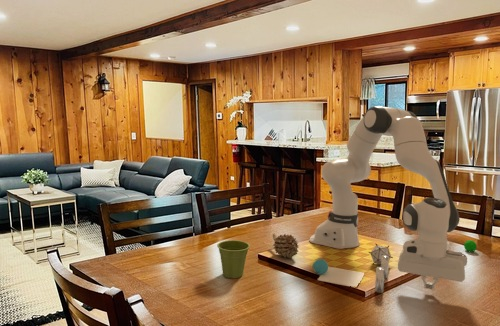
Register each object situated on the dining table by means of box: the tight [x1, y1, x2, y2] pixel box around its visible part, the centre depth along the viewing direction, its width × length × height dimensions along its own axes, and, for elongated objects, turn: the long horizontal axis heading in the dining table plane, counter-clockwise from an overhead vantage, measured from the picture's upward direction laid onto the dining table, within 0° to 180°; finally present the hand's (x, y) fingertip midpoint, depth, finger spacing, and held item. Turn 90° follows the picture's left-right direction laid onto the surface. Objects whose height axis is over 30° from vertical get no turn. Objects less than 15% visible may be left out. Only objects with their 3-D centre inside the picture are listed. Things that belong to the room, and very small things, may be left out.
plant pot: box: [216, 239, 251, 279], centre depth 145 cm, size 12×12×11 cm
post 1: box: [374, 266, 385, 294], centre depth 133 cm, size 3×3×8 cm
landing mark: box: [317, 266, 365, 288], centre depth 145 cm, size 14×14×1 cm
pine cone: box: [272, 233, 300, 259], centre depth 167 cm, size 22×10×10 cm, turn 22°
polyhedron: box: [463, 239, 478, 253], centre depth 174 cm, size 5×5×5 cm
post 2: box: [380, 255, 390, 280], centre depth 144 cm, size 3×3×8 cm
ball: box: [312, 258, 329, 275], centre depth 147 cm, size 6×6×6 cm
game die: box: [368, 243, 394, 265], centre depth 157 cm, size 9×8×10 cm
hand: (429, 288), depth 132 cm, fingers closed
